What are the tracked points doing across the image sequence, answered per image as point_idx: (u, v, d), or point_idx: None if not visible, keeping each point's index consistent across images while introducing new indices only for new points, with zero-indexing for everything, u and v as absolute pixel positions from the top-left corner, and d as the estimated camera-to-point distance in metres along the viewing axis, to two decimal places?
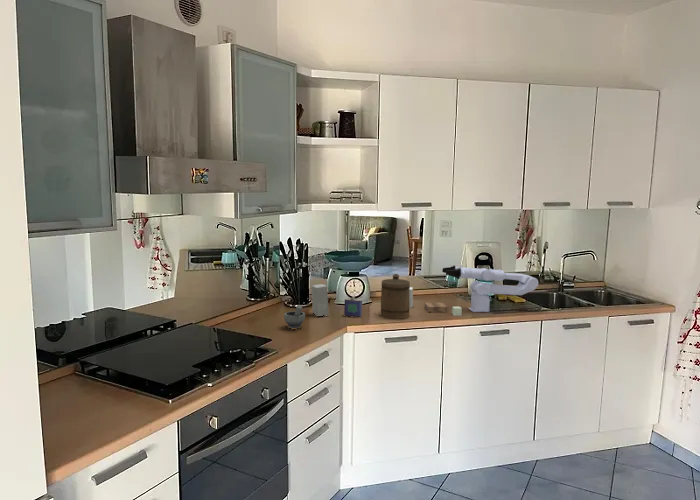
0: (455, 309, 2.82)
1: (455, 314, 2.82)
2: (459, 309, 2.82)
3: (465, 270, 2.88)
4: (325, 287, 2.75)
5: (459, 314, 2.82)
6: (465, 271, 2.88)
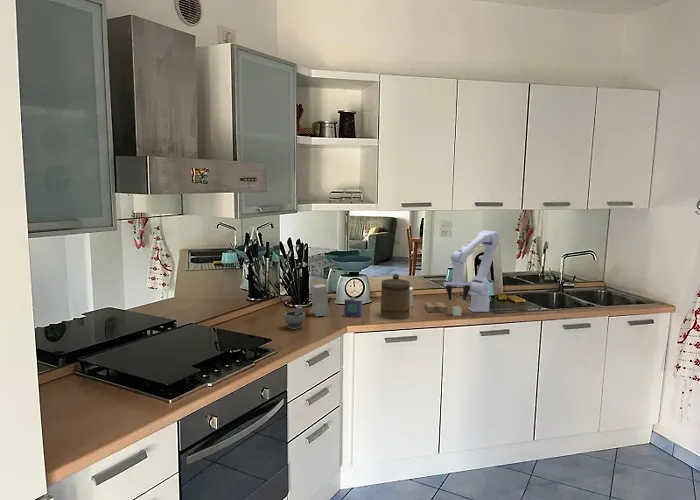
0: (455, 309, 2.82)
1: (455, 314, 2.82)
2: (459, 309, 2.82)
3: (463, 280, 2.80)
4: (325, 287, 2.75)
5: (459, 314, 2.82)
6: (463, 280, 2.81)
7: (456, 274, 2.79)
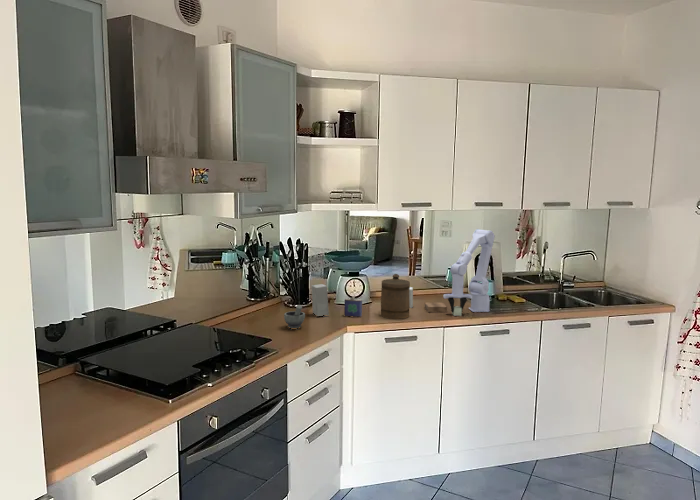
0: (455, 309, 2.82)
1: (455, 314, 2.82)
2: (459, 309, 2.82)
3: (462, 292, 2.81)
4: (325, 287, 2.75)
5: (459, 314, 2.82)
6: (462, 292, 2.82)
7: (456, 286, 2.80)
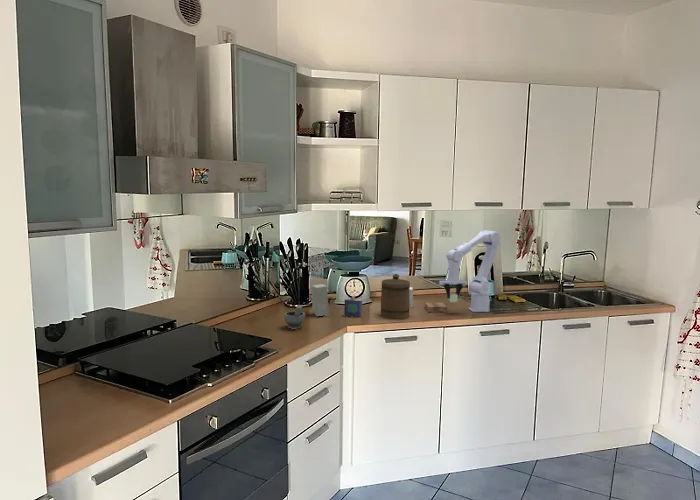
0: (451, 295, 2.83)
1: (451, 300, 2.83)
2: (455, 295, 2.83)
3: (458, 278, 2.82)
4: (325, 287, 2.75)
5: (455, 300, 2.83)
6: (458, 278, 2.83)
7: (451, 272, 2.81)
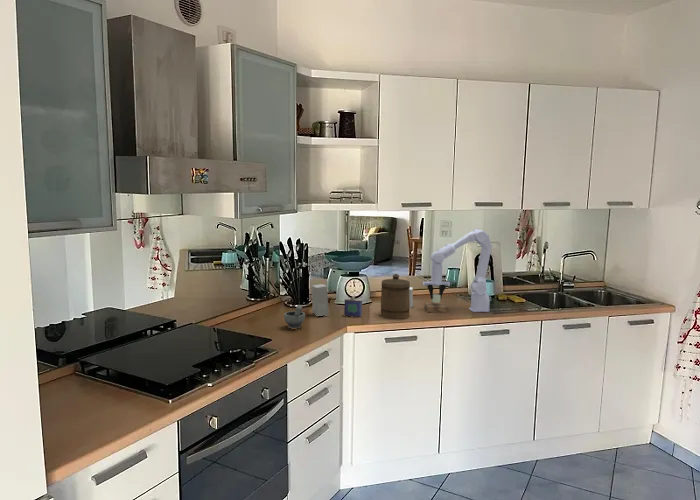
0: (434, 296, 2.90)
1: (434, 301, 2.91)
2: (438, 296, 2.90)
3: (441, 279, 2.90)
4: (325, 287, 2.75)
5: (438, 301, 2.91)
6: (441, 279, 2.90)
7: (432, 273, 2.90)
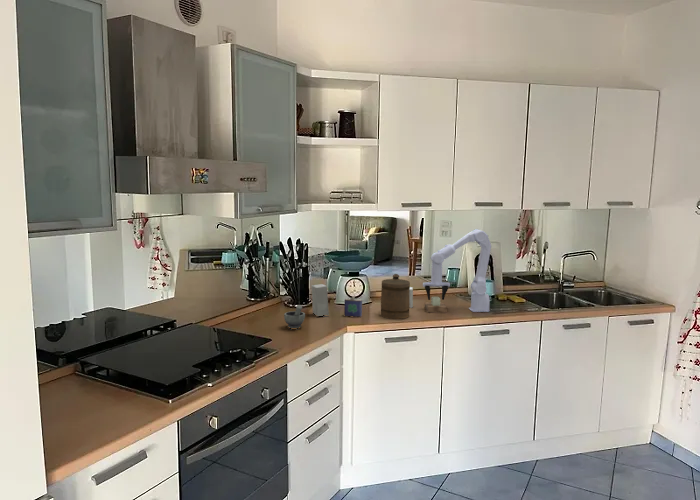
0: (434, 299, 2.90)
1: (434, 304, 2.91)
2: (438, 299, 2.91)
3: (441, 280, 2.90)
4: (325, 287, 2.75)
5: (438, 304, 2.91)
6: (441, 280, 2.90)
7: (432, 274, 2.90)
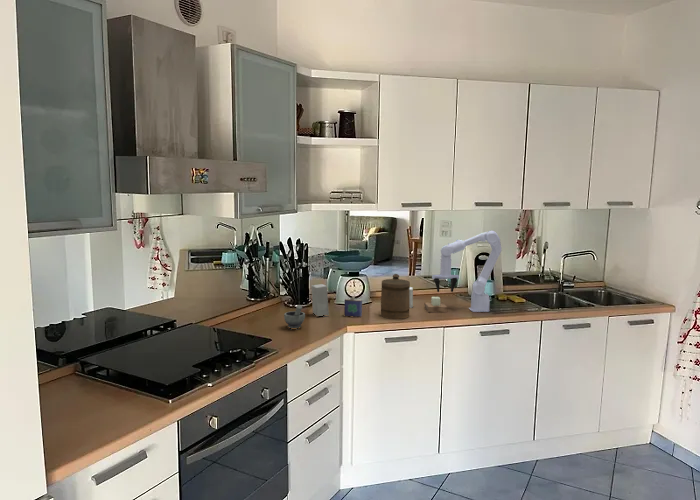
0: (434, 299, 2.90)
1: (434, 304, 2.91)
2: (438, 299, 2.91)
3: (450, 272, 2.94)
4: (325, 287, 2.75)
5: (438, 304, 2.91)
6: (450, 272, 2.94)
7: (440, 266, 2.94)
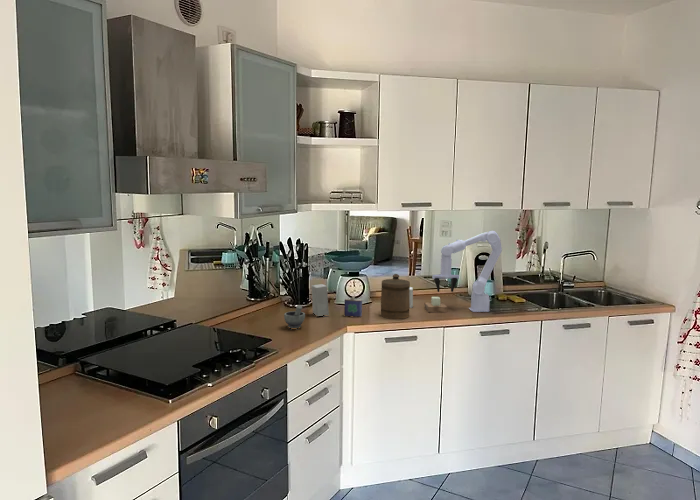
0: (434, 299, 2.90)
1: (434, 304, 2.91)
2: (438, 299, 2.91)
3: (450, 272, 2.94)
4: (325, 287, 2.75)
5: (438, 304, 2.91)
6: None
7: (441, 266, 2.94)
